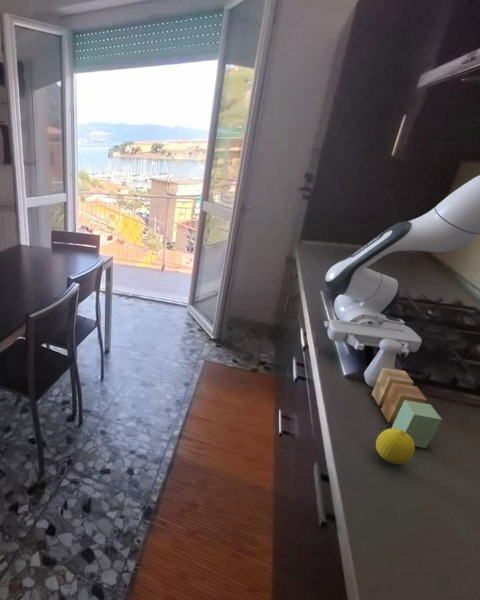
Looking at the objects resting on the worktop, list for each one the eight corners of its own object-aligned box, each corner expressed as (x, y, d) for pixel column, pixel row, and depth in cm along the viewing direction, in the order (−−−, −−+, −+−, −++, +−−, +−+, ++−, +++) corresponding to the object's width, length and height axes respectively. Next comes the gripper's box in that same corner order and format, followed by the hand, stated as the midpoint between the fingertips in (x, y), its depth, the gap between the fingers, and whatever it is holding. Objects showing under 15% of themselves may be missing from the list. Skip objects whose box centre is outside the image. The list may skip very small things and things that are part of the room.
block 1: (371, 393, 89) (382, 367, 86) (393, 397, 88) (405, 370, 84) (378, 405, 85) (389, 378, 82) (401, 409, 84) (413, 382, 81)
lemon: (410, 476, 68) (427, 445, 65) (375, 467, 70) (389, 437, 67) (399, 453, 73) (413, 424, 69) (366, 446, 75) (379, 417, 71)
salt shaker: (395, 391, 90) (414, 348, 84) (372, 391, 90) (390, 348, 84) (378, 376, 95) (395, 335, 89) (356, 377, 95) (372, 335, 89)
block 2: (380, 409, 84) (392, 382, 81) (404, 413, 83) (417, 386, 79) (388, 423, 80) (401, 395, 77) (412, 427, 79) (427, 399, 75)
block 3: (391, 427, 79) (404, 399, 76) (416, 432, 78) (430, 404, 74) (399, 443, 75) (414, 414, 72) (426, 448, 74) (442, 419, 70)
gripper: (324, 310, 105) (338, 333, 93) (410, 320, 98) (436, 346, 87) (319, 329, 107) (331, 354, 96) (401, 339, 101) (425, 367, 89)
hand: (382, 350), depth 91 cm, fingers open, 8 cm apart
